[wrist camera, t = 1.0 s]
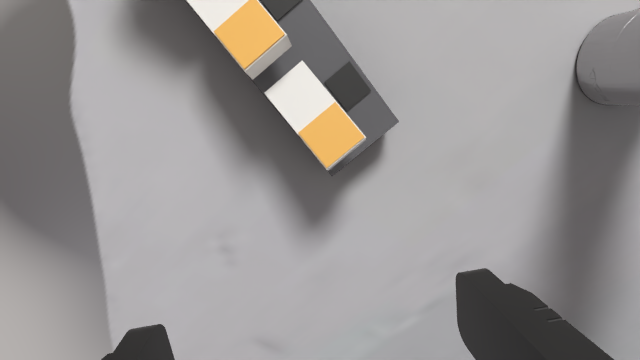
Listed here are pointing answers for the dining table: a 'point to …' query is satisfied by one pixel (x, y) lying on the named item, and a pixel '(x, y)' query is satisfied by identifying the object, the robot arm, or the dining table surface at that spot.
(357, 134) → the block
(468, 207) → the dining table surface
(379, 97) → the power strip
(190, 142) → the dining table surface
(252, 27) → the block
